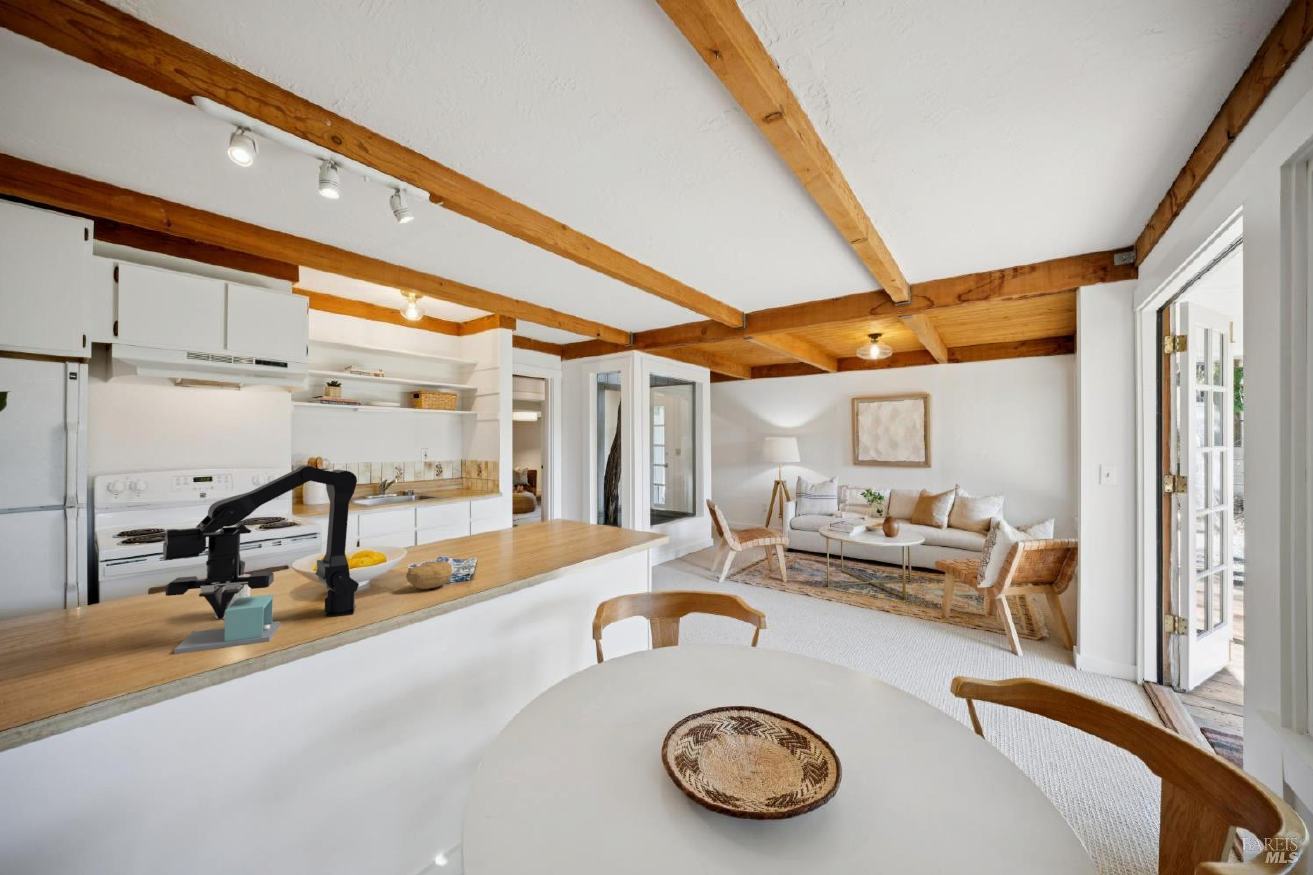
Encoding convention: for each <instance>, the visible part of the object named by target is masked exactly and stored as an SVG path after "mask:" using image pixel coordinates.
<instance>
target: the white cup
mask: <svg viewBox="0 0 1313 875" xmlns="http://www.w3.org/2000/svg"><path fill="white" fill-rule="evenodd" d="M251 575H252V574H248V573H244V575H241V576H239V577H249V576H251ZM217 583H218V582H217ZM226 583H227V582H226ZM212 584H214V583H212ZM225 590H226V588H225V586H223V589H222V592H224V591H225ZM241 597H251V588H250V587H248V585H244V588H243V589H242V590H241V591H240V592H239V593H237V594H235V595H234V596H233V598H232V600H231V602H230V604H229V606H230V605H231V604H232V603H233V602H234V601H235V600H236V599H237V598H241ZM229 606H228V607H229ZM214 617H215V619H217V620H219V619H218V617H217V615H216V613H215V612H214ZM222 620H225V615H224V617H223V619H222Z"/></svg>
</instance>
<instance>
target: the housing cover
mask: <svg viewBox="0 0 1313 875" xmlns="http://www.w3.org/2000/svg"><path fill="white" fill-rule="evenodd" d="M273 601H274V594H264V595H263V594H262V595H255V596H250V597H241V598H237V599H236V600H235V601H234V602H233V603H232V604H231V605H230V606H229V607H228V608H227V609H226V610H225V619H224V628H225V641H233V640H241V639H248V638H256V637H263V624H268V623H272V622H273V613H274V612H273V610H274V609H273V608H274V606H273V605H274V602H273Z"/></svg>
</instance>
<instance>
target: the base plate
mask: <svg viewBox="0 0 1313 875" xmlns="http://www.w3.org/2000/svg"><path fill="white" fill-rule="evenodd" d="M280 625H281V622H280V620H278V621H272V623H268V624H263V637H256V638H248V639H241V640H233V641H225V627H220V628H212V629H211V628H210V629H202V630H195V631H192V632H191V633H190V634H189V635H188V636H186V638H185V639H183V641H182V642H180V643H179V645H177V646H176V647H175V648H174V650H173V654H174V655H175V654H177V655H178V654H184V653H192V652H199V651H204V650H205V651H206V650H214V649H223V648H228V647H230V648H231V647H236V646H243V645H244V646H245V645H252V644H257V643H258V644H259V643H265V642H270V641H271V639H272V638H273V637H274V635H275V633H276V631H277V630H278V629H279V627H280Z"/></svg>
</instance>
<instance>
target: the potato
mask: <svg viewBox="0 0 1313 875" xmlns="http://www.w3.org/2000/svg"><path fill="white" fill-rule="evenodd" d="M452 574H453V568H452V566H451V563H450V562H448V561H436V562H427V563H423V564H421V565H417V566H414V567H412V568H410V569H409V570H408V572H407V573H406V575H405V578H406V581H407V582H408V583H409V584H410V585H412V586H413V587H414V588H416V589H417V590H418V589H419V590H431V589H430V588H432V589H435V588H437V587H440V586H443V585H445V584H446V583H448V582H449V581H450V579H451V578H452Z"/></svg>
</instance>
